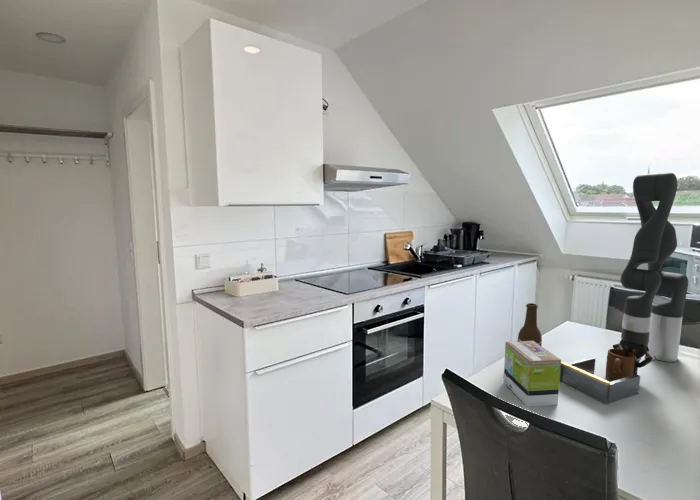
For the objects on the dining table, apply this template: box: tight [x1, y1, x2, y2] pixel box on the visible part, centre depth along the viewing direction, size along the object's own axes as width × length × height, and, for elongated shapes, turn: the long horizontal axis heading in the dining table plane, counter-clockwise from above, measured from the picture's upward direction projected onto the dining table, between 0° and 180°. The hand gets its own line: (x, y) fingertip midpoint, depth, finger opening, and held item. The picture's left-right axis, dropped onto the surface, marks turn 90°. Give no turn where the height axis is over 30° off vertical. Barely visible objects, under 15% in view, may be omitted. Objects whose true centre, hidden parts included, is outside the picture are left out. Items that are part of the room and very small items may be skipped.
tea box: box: [503, 340, 562, 407], centre depth 118 cm, size 15×10×15 cm
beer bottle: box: [517, 303, 543, 346], centre depth 135 cm, size 8×8×24 cm
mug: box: [605, 348, 635, 382], centre depth 127 cm, size 12×8×9 cm, turn 137°
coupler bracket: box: [559, 356, 641, 405], centre depth 123 cm, size 16×15×7 cm
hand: (631, 376), depth 130 cm, fingers closed
